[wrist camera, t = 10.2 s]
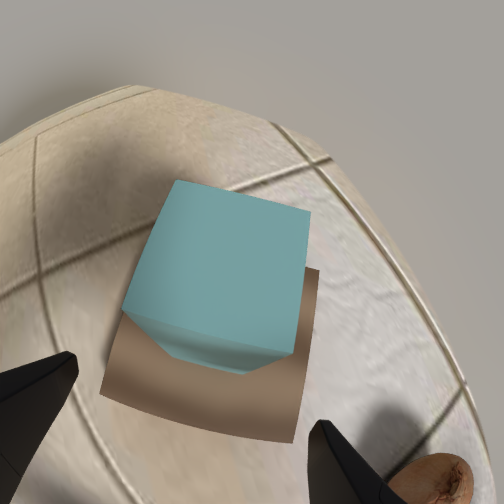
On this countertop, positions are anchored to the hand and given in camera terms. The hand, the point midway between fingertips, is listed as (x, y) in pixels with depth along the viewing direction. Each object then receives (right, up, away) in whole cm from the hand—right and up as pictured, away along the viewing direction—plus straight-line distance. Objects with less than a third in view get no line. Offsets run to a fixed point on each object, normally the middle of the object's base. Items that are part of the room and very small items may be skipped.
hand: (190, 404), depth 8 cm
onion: (+17, -19, +8) cm, 26 cm away
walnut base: (-1, -2, +13) cm, 14 cm away
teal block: (-1, -1, +11) cm, 11 cm away
